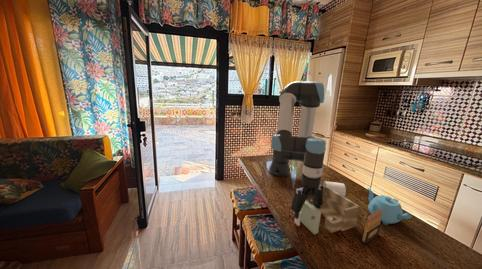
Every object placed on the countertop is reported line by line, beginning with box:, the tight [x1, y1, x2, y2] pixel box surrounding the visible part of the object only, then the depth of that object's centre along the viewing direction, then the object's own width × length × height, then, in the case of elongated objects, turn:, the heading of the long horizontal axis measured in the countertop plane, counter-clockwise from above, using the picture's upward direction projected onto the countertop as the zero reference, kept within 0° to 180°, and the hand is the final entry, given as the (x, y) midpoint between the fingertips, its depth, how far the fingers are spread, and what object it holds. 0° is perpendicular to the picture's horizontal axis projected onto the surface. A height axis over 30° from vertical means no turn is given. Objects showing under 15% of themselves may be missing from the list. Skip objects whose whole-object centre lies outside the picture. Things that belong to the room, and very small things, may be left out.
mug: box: [322, 180, 347, 198], centre depth 110 cm, size 12×10×8 cm
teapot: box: [367, 187, 413, 226], centre depth 89 cm, size 15×14×11 cm
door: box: [293, 199, 322, 235], centre depth 83 cm, size 14×3×10 cm, turn 23°
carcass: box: [306, 186, 361, 234], centre depth 89 cm, size 19×14×10 cm
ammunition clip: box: [360, 209, 382, 244], centre depth 77 cm, size 11×2×12 cm, turn 121°
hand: (305, 221), depth 85 cm, fingers open, 8 cm apart
